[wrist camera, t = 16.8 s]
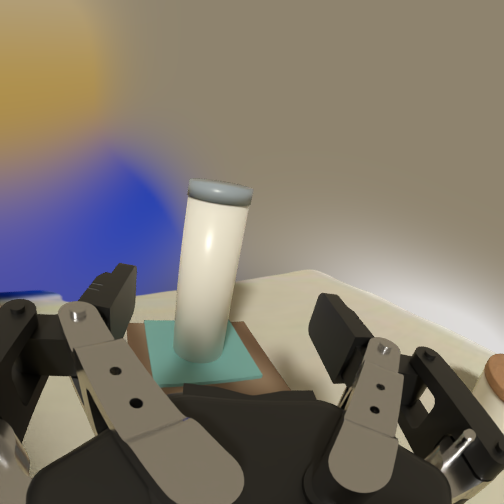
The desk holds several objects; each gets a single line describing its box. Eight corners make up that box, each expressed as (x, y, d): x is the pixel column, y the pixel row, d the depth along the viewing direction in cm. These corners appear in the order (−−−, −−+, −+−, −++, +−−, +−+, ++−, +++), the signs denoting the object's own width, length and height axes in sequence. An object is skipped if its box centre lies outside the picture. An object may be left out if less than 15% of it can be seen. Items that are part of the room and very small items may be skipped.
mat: (154, 387, 22) (154, 384, 22) (144, 323, 30) (144, 320, 30) (261, 378, 26) (262, 375, 26) (228, 322, 35) (228, 319, 34)
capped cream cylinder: (177, 365, 25) (196, 184, 20) (168, 333, 29) (184, 176, 24) (230, 362, 27) (263, 193, 22) (215, 331, 31) (240, 183, 27)
